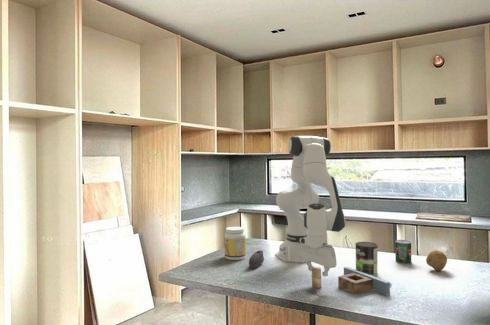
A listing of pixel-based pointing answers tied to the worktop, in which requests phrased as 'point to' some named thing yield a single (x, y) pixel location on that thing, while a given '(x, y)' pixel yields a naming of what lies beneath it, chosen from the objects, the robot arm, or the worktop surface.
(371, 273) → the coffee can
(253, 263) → the perforated stone tool
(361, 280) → the block
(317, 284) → the dowel
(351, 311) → the worktop surface
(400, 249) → the canned tomato
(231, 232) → the supplement tub
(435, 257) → the natural sponge
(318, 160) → the robot arm
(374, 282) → the wall
